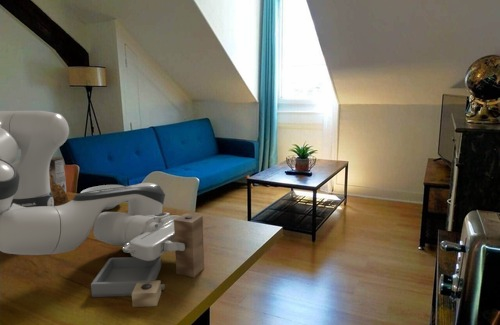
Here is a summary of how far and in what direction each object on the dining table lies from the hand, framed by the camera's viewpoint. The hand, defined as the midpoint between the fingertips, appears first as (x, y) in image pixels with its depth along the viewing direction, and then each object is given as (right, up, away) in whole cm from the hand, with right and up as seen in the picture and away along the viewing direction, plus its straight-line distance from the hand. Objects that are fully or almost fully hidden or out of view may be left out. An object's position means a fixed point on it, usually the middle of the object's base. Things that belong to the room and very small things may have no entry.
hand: (192, 241), depth 86 cm
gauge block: (-8, -10, -10) cm, 17 cm away
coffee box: (-74, +5, +72) cm, 104 cm away
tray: (-15, -9, -3) cm, 17 cm away
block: (-1, -8, +2) cm, 8 cm away
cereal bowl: (-43, +2, +53) cm, 68 cm away
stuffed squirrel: (-63, +1, +52) cm, 82 cm away
